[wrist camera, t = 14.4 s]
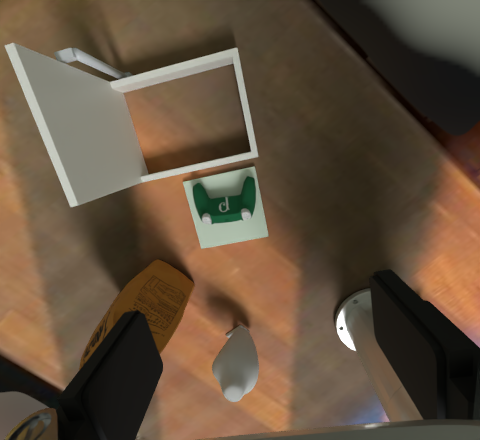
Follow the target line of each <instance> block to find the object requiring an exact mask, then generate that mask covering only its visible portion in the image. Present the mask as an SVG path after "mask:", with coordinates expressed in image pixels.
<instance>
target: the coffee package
mask: <svg viewBox="0 0 480 440" xmlns="http://www.w3.org/2000/svg"><path fill="white" fill-rule="evenodd" d="M194 287H195V285H194V283H193V282H192V281H191V280H190V279H188V278H187V277H186V276H185V275H184V274H182V273H181V272H179V271H178V270H177V269H175V268H173V267H172V266H171V265H169V264H168V263H165V262H163V261H161V260H159V259H157V260H155V261H153V262H152V263H151V264H150V265H149V266H148V267H146V268H145V269H144V270H143V271H142V272H140V273H139V274H138V275H137V276H135V277H134V278H133V279H132V280H131V281H130V282H129V283H128V284H127V285H126V286H125V287H124V288H123V289H122V290H121V292H120V293H119V294H118V296H117V297H116V299H115V300H114V302H113V303H112V305H111V306H110V308H109V309H108V311H107V313H106V314H105V316H104V317H103V319H102V320H101V322H100V323H99V325H98V326H97V328H96V329H95V331H94V332H93V334H92V336H91V338H90V340H89V342H88V344H87V346H86V349H85V351H84V353H83V355H82V358H81V362H80V368H79V370H80V369H81V368H82V366H83V365H84V364H85V363H86V361H87V360H88V359H89V357H90V356H91V355H92V353H93V352H94V351H95V350H96V348H97V347H98V346H99V344H100V343H101V342H102V340H103V339H104V338H105V337H106V335H107V334H108V333H109V331H110V330H111V329H112V327H113V326H114V325H115V324H116V322H117V321H118V320H119V318H120V317H121V316H122V314H123V313H125V312H129V311H135V310H139V311H140V312H141V313H144V314H145V316H146V319H147V322H148V325H149V327H150V330H151V333H152V335H153V338H154V341H155V343H156V346H157V349H158V351H159V354H160V353H161V352H162V351H163V349H164V348H165V346H166V345H167V343H168V342H169V340H170V338H171V337H172V335H173V334H174V332H175V331H176V329H177V327H178V325H179V323H180V322H181V320H182V317H183V313H184V310H185V307H186V305H187V303H188V300H189V298H190V296H191V294H192V292H193V289H194Z"/></svg>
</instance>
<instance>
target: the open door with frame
mask: <svg viewBox="0 0 480 440" xmlns="http://www.w3.org/2000/svg"><path fill="white" fill-rule="evenodd" d="M5 48H6V50H7V53H8V55H9V58H10V60H11V62H12V65H13V67H14V70H15V72H16V75H17V77H18V80H19V82H20V84H21V87H22V89H23V92H24V94H25V97H26V99H27V102H28V104H29V106H30V109H31V111H32V114H33V116H34V119H35V121H36V124H37V126H38V128H39V131H40V133H41V136H42V138H43V141H44V143H45V146H46V148H47V150H48V153H49V155H50V158H51V160H52V163H53V165H54V168H55V170H56V172H57V175H58V177H59V180H60V182H61V185H62V187H63V190H64V192H65V194H66V197H67V199H68V202H69V204H70V207H74V206H78V205H81V204H84V203H87V202H89V201H92V200H95V199H98V198H101V197H103V196H106V195H109V194H112V193H114V192H117V191H120V190H123V189H125V188H128V187H131V186H134V185H136V184H139V183H142V182H146V181H151V180H155V179H160V178H164V177H169V176H173V175H178V174H182V173H187V172H191V171H196V170H200V169H205V168H209V167H214V166H219V165H223V164H228V163H232V162H237V161H241V160H246V159H250V158H255V157H258V152H257V147H256V142H255V137H254V131H253V126H252V121H251V116H250V111H249V106H248V101H247V95H246V90H245V85H244V80H243V75H242V70H241V65H240V59H239V54H238V49H237V48H233V49H229V50H226V51H222V52H218V53H215V54H211V55H207V56H204V57H200V58H196V59H193V60H189V61H185V62H182V63H178V64H174V65H171V66H167V67H163V68H160V69H156V70H152V71H149V72H145V73H141V74H138V75H134V76H132V74H131V73H130V72H126V73H123V72H121V71H119V70H117V69H115V68H114V67H112V66H110V65H108V64H106V63H104V62H102V61H100V60H98V59H96V58H94V57H92V56H90V55H89V54H87V53H85V52H83V51H81V50H79V49H77V48H68V49H64V50H61V51H58V52H54V53H55V56H56V59H57V60H55V59H52V58H50V57H47V56H45V55H42V54H40V53H37V52H35V51H33V50H30V49H28V48H25V47H23V46H20V45H18V44H15V43H11V44H8V45H5ZM75 60H78V61H80V62H82V63H84V64H86V65H89V66H91V67H93V68H95V69H97V70H100V71H102V72H104V73H106V74H108V75H111V76H113V77H115V78H117V79H119V80H116V81H112V82H109V81H106V80H104V79H101V78H99V77H96V76H94V75H91V74H89V73H87V72H84V71H82V70H79V69H77V68H74V67H72V66H69V65H67V64H65V63H68V62H72V61H75ZM230 64H234V68H235V73H236V78H237V83H238V88H239V93H240V98H241V103H242V108H243V113H244V118H245V123H246V128H247V133H248V138H249V143H250V148H251V151H250V152H246V153H241V154H237V155H232V156H228V157H224V158H219V159H215V160H210V161H206V162H201V163H197V164H192V165H188V166H183V167H179V168H175V169H170V170H166V171H161V172H157V173H152V174H149V173H148V170H147V167H146V164H145V161H144V157H143V154H142V151H141V148H140V145H139V141H138V138H137V135H136V132H135V129H134V125H133V122H132V119H131V116H130V113H129V109H128V106H127V103H126V100H125V97H124V93H125V92H128V91H132V90H136V89H140V88H143V87H147V86H151V85H155V84H158V83H162V82H166V81H170V80H173V79H177V78H181V77H185V76H188V75H192V74H196V73H200V72H204V71H207V70H211V69H215V68H219V67H222V66H226V65H230Z"/></svg>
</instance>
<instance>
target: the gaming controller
mask: <svg viewBox="0 0 480 440" xmlns="http://www.w3.org/2000/svg"><path fill="white" fill-rule="evenodd" d="M193 198H194V203H195V207H196V210H197V212H198V215H199V217H200V219H201V221H202V222H203V223H204V224H214V223H227V222H234V221H239V220H242V221H243V220H248V219H250V218H251V217H252V215H253V212H254V209H255V204H256V185H255V179H254V178H253V177H249V176H247V177H246V179H245V181H244V183H243V187H242V192H241V194H240V195H235V196H227V197H219V198H213V199H211V198H209V196H208V194H207V192H206V190H205V188H204V187H203V186H202V185H201V183H197V184H195V185H194V186H193Z"/></svg>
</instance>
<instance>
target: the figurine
mask: <svg viewBox="0 0 480 440" xmlns="http://www.w3.org/2000/svg"><path fill="white" fill-rule="evenodd" d="M226 336H227V337H228V338H229V339H228V341H227V342H226V344H225V345H224V346H223V348H222V349H221V351H220V352H219V354H218V355H217V357H216V358H215V360H214V362H213V365H212V371H213V374H214V376H215V378H216V379H217V381H218V382H219V384H220V386H221V389H222V392H223V395H224V396H225V397H226V399H228V400H229V401H232V402H237V401H239V400H240V399H241V398H242V397H243V395H244V394H247V393H249V392H250V391H251V390H252V389H253V387H254V386H255V384H256V381H257V378H258V372H259V362H258V356H257V351H256V347H255V344H254V341H253V339H252V337H251V335H250V333H249V331H248V330H247V329H246V328H244V327H243V326H242V325H240V326H238V327H237V328H235V329H233V330H232V331H230V332H229V333H227V334H226Z"/></svg>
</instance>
